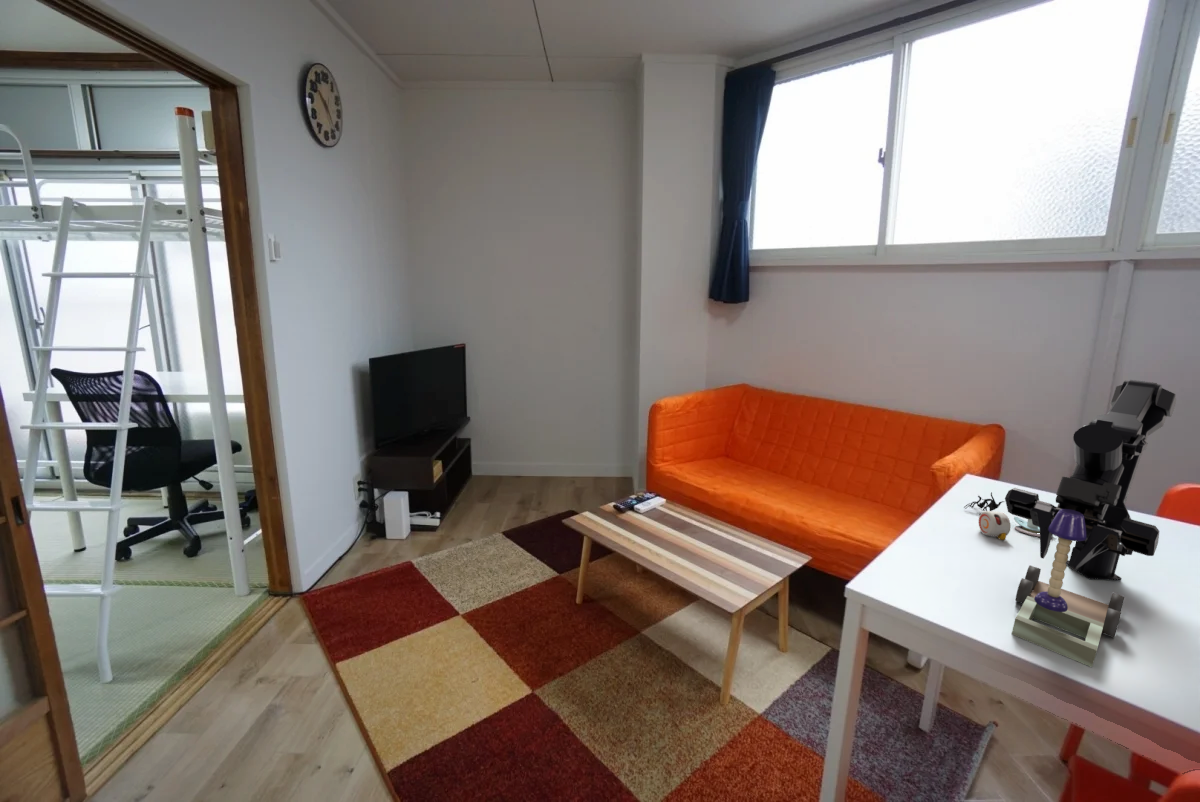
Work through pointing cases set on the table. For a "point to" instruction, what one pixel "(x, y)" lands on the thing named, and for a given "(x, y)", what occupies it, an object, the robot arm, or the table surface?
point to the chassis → (1065, 620)
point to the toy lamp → (1061, 556)
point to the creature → (981, 505)
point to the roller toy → (994, 524)
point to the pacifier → (1027, 527)
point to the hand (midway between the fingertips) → (1057, 562)
